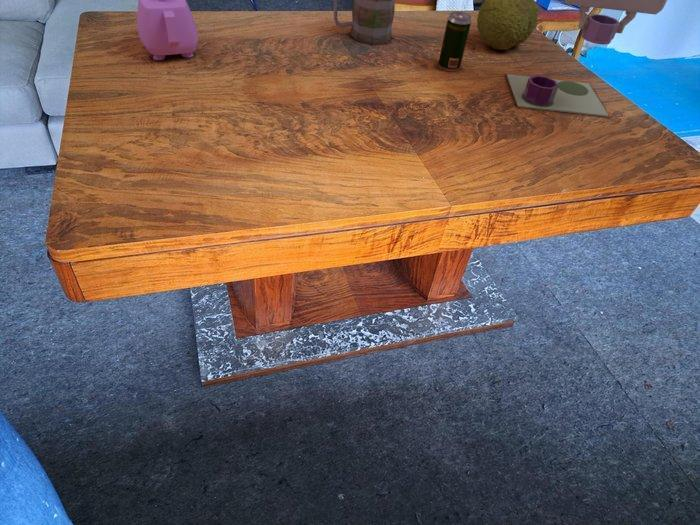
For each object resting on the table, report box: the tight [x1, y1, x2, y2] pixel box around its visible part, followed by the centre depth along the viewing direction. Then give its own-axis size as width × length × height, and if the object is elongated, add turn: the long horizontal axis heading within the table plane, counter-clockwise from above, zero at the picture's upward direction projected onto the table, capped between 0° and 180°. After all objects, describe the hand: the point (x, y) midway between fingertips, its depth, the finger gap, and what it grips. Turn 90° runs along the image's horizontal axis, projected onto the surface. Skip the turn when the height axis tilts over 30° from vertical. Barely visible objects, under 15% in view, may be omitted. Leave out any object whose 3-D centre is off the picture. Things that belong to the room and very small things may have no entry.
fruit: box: [476, 0, 540, 51], centre depth 131 cm, size 16×14×15 cm
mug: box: [333, 0, 396, 45], centre depth 129 cm, size 16×11×12 cm
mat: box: [506, 73, 610, 118], centre depth 117 cm, size 20×16×1 cm
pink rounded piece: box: [136, 0, 199, 61], centre depth 112 cm, size 20×12×13 cm, turn 24°
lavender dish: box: [581, 13, 620, 46], centre depth 108 cm, size 6×6×4 cm
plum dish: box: [524, 75, 559, 106], centre depth 112 cm, size 6×6×4 cm
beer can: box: [438, 10, 472, 73], centre depth 119 cm, size 5×5×12 cm
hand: (599, 30), depth 109 cm, fingers closed on lavender dish, 6 cm apart
